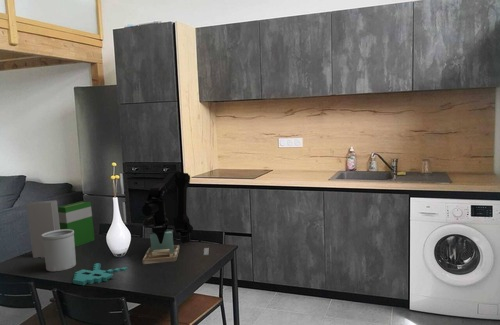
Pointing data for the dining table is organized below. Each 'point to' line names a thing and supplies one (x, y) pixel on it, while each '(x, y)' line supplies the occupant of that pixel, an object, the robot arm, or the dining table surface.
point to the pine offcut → (161, 252)
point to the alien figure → (94, 275)
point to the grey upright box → (41, 223)
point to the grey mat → (206, 251)
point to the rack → (159, 260)
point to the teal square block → (165, 244)
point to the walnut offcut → (158, 256)
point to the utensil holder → (59, 249)
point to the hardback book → (77, 221)
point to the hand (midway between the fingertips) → (162, 241)
